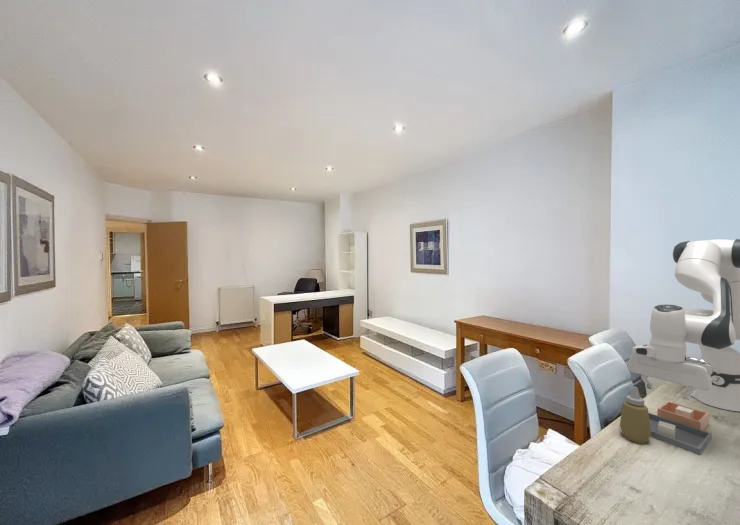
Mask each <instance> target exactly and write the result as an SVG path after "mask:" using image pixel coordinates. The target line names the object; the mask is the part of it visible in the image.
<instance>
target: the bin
mask: <svg viewBox="0 0 740 525" xmlns="http://www.w3.org/2000/svg"><path fill="white" fill-rule="evenodd" d="M678 406H681V407H685V408H688V409H692V410H694V419H691V418H688V417H685V416H682V415H679V414H676V413H675V408H677V407H678ZM657 416H660V417H663V418H666V419H669V420H672V421H676V422H679V423H682V424H685V425H688V426H691V427H694V428H697V429H700V430H703V431H705V429H706V428H707V427H708V426H709V423H710V413H709V412H706V411H702V410H699V409H698V408H694V407H689V406H686V405H682V404H679V403H676V402H673V401H669V400H667V401H665V402H664V403H662V404H661V405H660V406H659V407H657Z"/></svg>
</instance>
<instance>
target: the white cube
mask: <svg viewBox="0 0 740 525" xmlns="http://www.w3.org/2000/svg"><path fill="white" fill-rule="evenodd" d="M675 413H676V414H679V415H682V416H685V417H688V418H691V419H694V410H692V409H688V408H685V407H681V406H678V407H677V408H675Z"/></svg>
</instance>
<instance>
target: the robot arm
mask: <svg viewBox="0 0 740 525" xmlns="http://www.w3.org/2000/svg"><path fill="white" fill-rule="evenodd" d="M672 257H673V261H674V263H676V266H675V269H674V277H675V279H676V281H677V282H678V283H679V284H681V285H682V286H684V287H685V288H687V289H689V290H692V291H695V292H698V293H700V296H701V297H702V298H703V299H704V300H705V301H707V302H708V303H711V304H712V309H703V308H702V309H701V308H692V309H691V308H690V309H689V308H688V309H684V308H683V307H681V306H679V305H676V304H657V305H655V306H654V307H653V308H652V309H651V310H652V311H651V314H650V315H651V316H650V323H649V325H650V326H649V329H650V330H649V331H650V336H651V337H650V340H649V344H639V345H636V346H633V347H632V350H631V352H632V354H630V356H629V360H628V367H627V368H628V370H629V371H630V372H631V373H634V374H637V375H641V376H640V378H641V380H642V381H643V383H644V384H645V385H644V387H645V389H648V390H653V382H652V383H651V382H649V379H648V378H649V377H650V378H654V379H658V380H660V381H661V380H662V381H666V382H669V383H673V384H677V385H682V386H686V387H687V390H688V392H686V391H683V392H682V399H683V400H687V401H690V400H691V397H692V398H695V399H696V400H698V401H699V402H701V403H702V404H703V403H704V404H706V405H707V406H708V405H709V406H711V407H714V408H717V409H722V410H727V411H732V412H740V352H739V351H738V350H736V349H735V348H733V347H732V345H734V344H735V341H737V340H738V341H740V239H739V238H736V239H726V238H725V239H723V238H721V239H717V238H716V239H715V238H714V239H708V240H707V239H705V240H704V239H703V240H695V241H694V240H693V241H690V240H688V241H683V242H679V243H677V244H675V246H674V248H673V251H672ZM686 343H690V344H694V345H695V344H696V345H698V346H699V349H700V354H701V355H700V356H701V359H698V358H694V357H690V356H687V345H686Z"/></svg>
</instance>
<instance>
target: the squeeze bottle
mask: <svg viewBox="0 0 740 525" xmlns="http://www.w3.org/2000/svg"><path fill="white" fill-rule="evenodd" d="M640 395H641V394H640V392H639V388H638V387H637V386H633V387H632V389H631V392H630V394H628V395H626V396H625V398H626V399H625V401H623V402H622V406H621V414H620V421H619V427H620V430H621V433H622V435H623V437H624V438H625V439H627V440H629V441H630V442H633V443H636V444H642V445H643V444H647V443H648V442H649V440H650V438H651V437H650V436H651V428H650V420H649V413H650V412H649V408H648V407H647V406H646V405H645V399H644V398H643V397H641V396H640Z"/></svg>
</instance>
